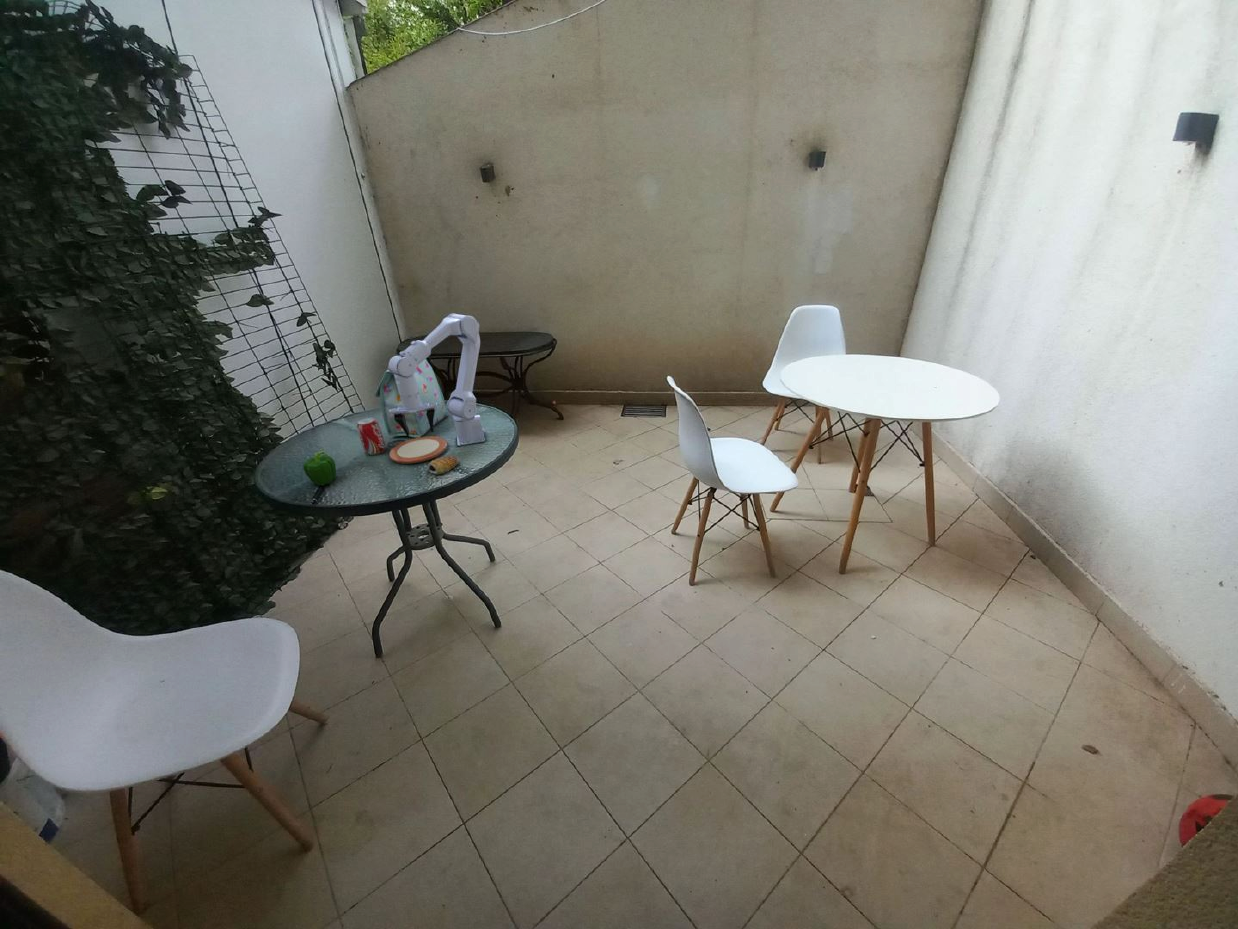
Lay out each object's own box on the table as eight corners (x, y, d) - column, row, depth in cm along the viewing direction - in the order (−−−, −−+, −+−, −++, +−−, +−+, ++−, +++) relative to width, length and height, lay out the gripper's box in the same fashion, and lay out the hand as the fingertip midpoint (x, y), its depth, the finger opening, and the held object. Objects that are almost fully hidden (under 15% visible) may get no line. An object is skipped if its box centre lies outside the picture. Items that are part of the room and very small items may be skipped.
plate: (447, 436, 177) (446, 432, 177) (447, 458, 161) (446, 454, 161) (393, 445, 173) (392, 441, 172) (387, 469, 157) (386, 465, 156)
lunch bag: (415, 414, 198) (397, 350, 185) (452, 415, 196) (437, 350, 183) (384, 439, 178) (361, 369, 165) (425, 439, 176) (405, 369, 163)
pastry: (450, 459, 161) (447, 449, 159) (463, 464, 157) (460, 454, 155) (426, 472, 154) (423, 461, 152) (439, 477, 151) (436, 466, 149)
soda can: (379, 456, 166) (368, 424, 160) (361, 455, 167) (350, 424, 161) (390, 447, 172) (381, 416, 166) (373, 446, 173) (362, 416, 167)
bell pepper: (309, 490, 147) (296, 462, 142) (312, 478, 154) (300, 451, 149) (339, 484, 150) (328, 456, 145) (341, 472, 157) (330, 445, 152)
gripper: (383, 401, 146) (395, 441, 153) (432, 394, 149) (442, 434, 156) (386, 394, 152) (398, 432, 159) (433, 387, 155) (443, 425, 162)
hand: (420, 432), depth 158 cm, fingers open, 7 cm apart
